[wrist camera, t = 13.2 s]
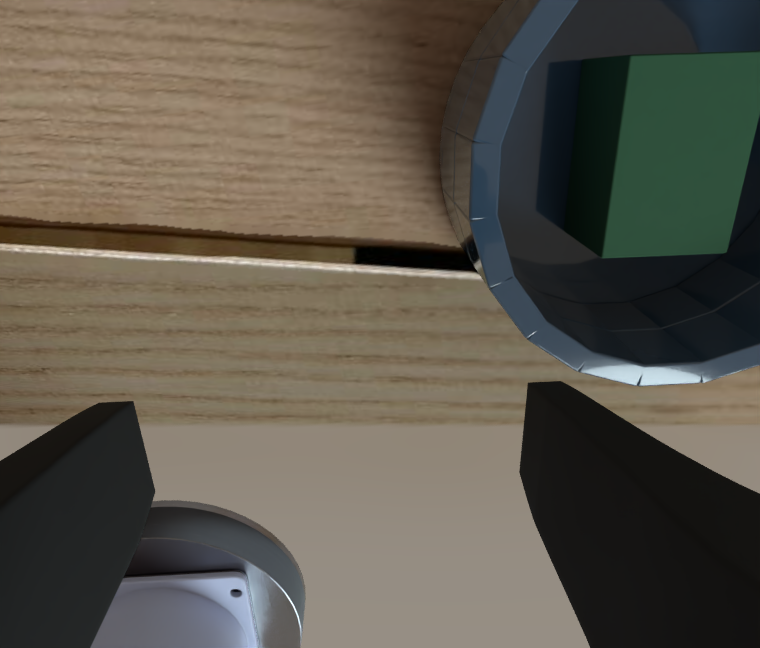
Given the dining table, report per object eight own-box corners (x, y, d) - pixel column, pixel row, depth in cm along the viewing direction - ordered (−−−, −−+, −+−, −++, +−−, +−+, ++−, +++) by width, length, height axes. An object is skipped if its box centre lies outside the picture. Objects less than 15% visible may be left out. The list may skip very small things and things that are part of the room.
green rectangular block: (669, 226, 18) (727, 253, 15) (563, 231, 18) (601, 259, 15) (702, 55, 16) (775, 50, 13) (581, 59, 16) (630, 54, 13)
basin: (752, 307, 20) (871, 375, 15) (437, 322, 19) (462, 396, 15) (853, -76, 15) (1071, -144, 10) (441, -64, 15) (481, -129, 10)
